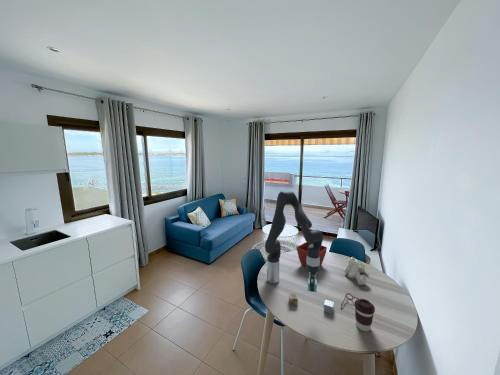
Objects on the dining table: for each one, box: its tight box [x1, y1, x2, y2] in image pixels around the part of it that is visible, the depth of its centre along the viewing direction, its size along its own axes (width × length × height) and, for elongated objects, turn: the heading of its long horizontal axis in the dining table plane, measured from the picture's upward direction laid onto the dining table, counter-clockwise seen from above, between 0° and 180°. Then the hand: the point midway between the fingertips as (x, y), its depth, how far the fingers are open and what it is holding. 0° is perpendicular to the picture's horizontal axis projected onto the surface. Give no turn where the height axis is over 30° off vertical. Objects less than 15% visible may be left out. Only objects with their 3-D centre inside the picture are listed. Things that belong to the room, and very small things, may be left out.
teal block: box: [307, 277, 318, 293], centre depth 124 cm, size 5×5×5 cm
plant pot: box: [296, 241, 328, 268], centre depth 178 cm, size 19×19×17 cm
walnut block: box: [288, 292, 299, 307], centre depth 135 cm, size 5×5×5 cm
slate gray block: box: [323, 299, 335, 315], centre depth 128 cm, size 5×5×5 cm
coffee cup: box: [354, 298, 376, 332], centre depth 114 cm, size 10×10×15 cm
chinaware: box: [344, 256, 369, 286], centre depth 160 cm, size 28×17×17 cm, turn 159°
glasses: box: [340, 293, 360, 310], centre depth 129 cm, size 13×13×5 cm
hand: (312, 288), depth 124 cm, fingers closed on teal block, 5 cm apart
